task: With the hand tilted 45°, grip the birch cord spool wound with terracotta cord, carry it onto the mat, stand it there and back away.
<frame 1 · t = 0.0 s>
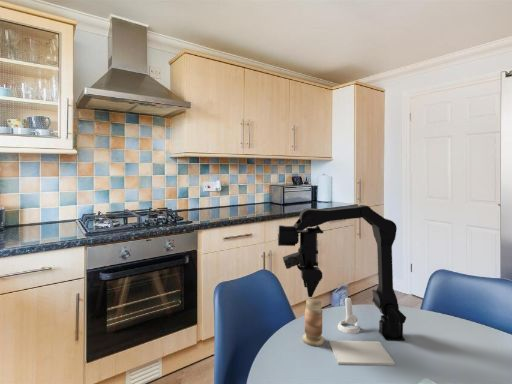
hand: (307, 291, 105), 15 cm above the table, tool pointing down, fingers open, 9 cm apart
white vr controller: (348, 329, 111), on the table
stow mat: (360, 353, 95), on the table
cord spool: (313, 340, 102), on the table
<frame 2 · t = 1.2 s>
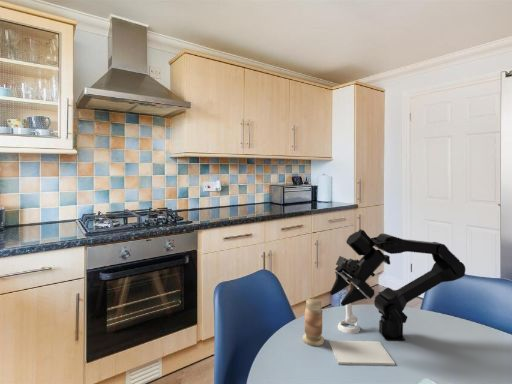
hand: (336, 299, 102), 13 cm above the table, tool tilted 45°, fingers open, 9 cm apart
nothing on the table moved.
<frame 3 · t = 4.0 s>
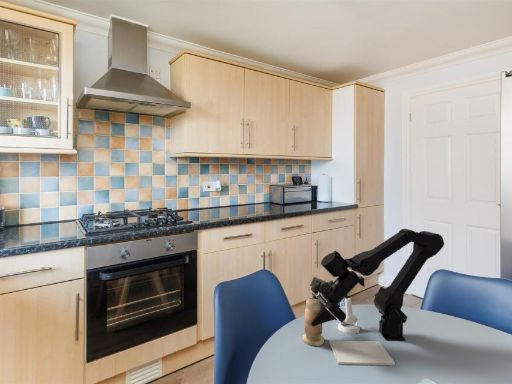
hand: (309, 320, 101), 7 cm above the table, tool tilted 45°, fingers closed on cord spool, 6 cm apart
cord spool: (313, 340, 102), on the table, touching gripper
everything else where it was.
when the fingers open (8 cm above the table, at t = 7.9 s): cord spool drops 1 cm, resting on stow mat.
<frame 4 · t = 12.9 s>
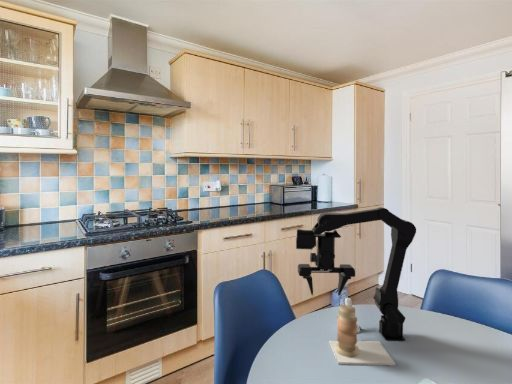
hand: (325, 294, 107), 13 cm above the table, tool pointing down, fingers open, 9 cm apart
cord spool: (346, 350, 95), point 1 cm above the table, touching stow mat
everything else where it was.
at the end: cord spool inside the target area on the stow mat (3.4 cm from its centre), point 0.7 cm above the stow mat's base; cord spool tilted 1°; the gripper is holding nothing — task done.
